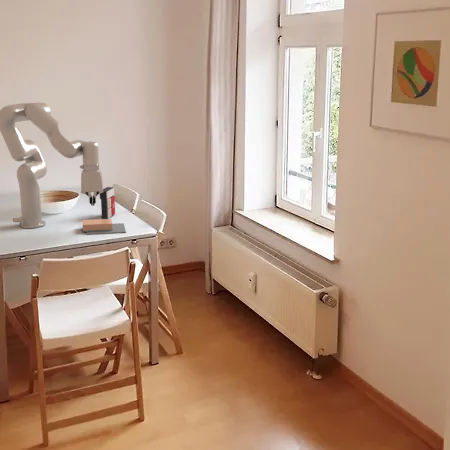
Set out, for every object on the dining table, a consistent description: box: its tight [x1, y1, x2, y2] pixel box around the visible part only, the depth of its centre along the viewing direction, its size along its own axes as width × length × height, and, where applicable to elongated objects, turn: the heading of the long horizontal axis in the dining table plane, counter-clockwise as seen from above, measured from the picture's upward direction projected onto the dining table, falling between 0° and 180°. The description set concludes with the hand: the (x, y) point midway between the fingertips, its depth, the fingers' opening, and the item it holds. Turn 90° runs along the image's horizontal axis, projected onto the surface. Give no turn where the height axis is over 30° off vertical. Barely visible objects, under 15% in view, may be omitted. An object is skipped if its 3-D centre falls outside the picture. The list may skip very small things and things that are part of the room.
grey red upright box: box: [99, 186, 116, 219], centre depth 340 cm, size 11×4×15 cm, turn 168°
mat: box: [86, 222, 127, 236], centre depth 319 cm, size 18×16×1 cm
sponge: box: [82, 218, 113, 233], centre depth 318 cm, size 4×9×14 cm
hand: (92, 204), depth 315 cm, fingers closed
